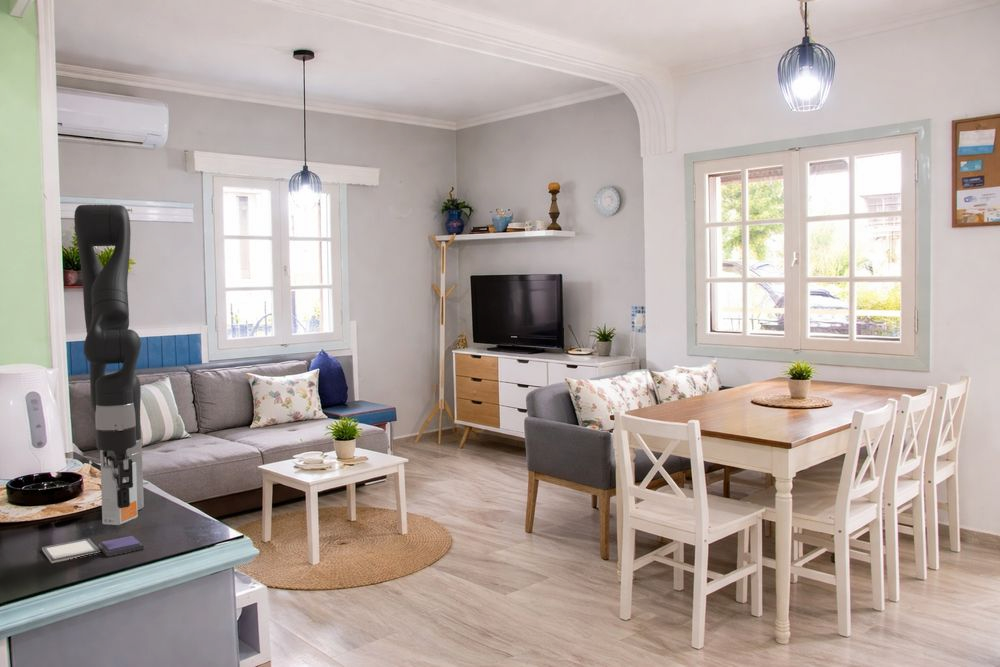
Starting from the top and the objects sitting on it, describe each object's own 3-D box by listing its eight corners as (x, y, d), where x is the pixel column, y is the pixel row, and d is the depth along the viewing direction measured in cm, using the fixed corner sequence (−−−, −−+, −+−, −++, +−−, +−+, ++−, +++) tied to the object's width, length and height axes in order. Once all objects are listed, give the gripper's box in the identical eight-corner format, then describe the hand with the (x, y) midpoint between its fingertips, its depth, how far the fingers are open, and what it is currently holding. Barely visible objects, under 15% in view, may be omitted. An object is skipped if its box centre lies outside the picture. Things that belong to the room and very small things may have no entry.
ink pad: (99, 548, 169) (98, 541, 169) (134, 541, 173) (133, 534, 173) (107, 557, 163) (107, 550, 163) (143, 549, 168) (143, 543, 168)
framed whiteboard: (42, 549, 168) (42, 547, 168) (89, 540, 173) (89, 538, 173) (51, 563, 160) (51, 560, 160) (100, 553, 166) (100, 550, 166)
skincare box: (120, 525, 164) (117, 468, 164) (101, 524, 165) (99, 467, 165) (139, 517, 170) (136, 461, 170) (121, 516, 171) (119, 461, 170)
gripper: (88, 422, 169) (91, 499, 171) (104, 432, 158) (108, 514, 160) (125, 418, 174) (128, 493, 175) (144, 427, 163) (147, 507, 164)
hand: (119, 503), depth 167 cm, fingers closed on skincare box, 7 cm apart
